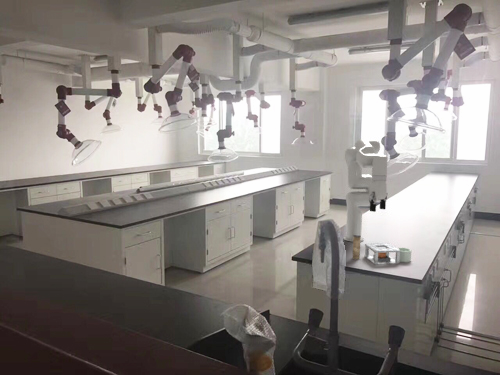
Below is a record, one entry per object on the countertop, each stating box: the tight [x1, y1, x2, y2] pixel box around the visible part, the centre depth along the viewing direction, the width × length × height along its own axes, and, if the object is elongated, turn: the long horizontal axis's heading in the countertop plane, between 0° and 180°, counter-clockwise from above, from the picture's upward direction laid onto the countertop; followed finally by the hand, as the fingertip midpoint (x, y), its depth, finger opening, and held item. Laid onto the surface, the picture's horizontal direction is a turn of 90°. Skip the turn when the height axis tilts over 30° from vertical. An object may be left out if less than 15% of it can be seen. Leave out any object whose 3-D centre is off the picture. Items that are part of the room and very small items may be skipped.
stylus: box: [352, 235, 362, 260], centre depth 220 cm, size 4×4×13 cm
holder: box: [397, 247, 413, 263], centre depth 218 cm, size 7×7×6 cm
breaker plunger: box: [378, 253, 386, 258], centre depth 218 cm, size 5×5×3 cm
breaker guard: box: [364, 242, 401, 265], centre depth 218 cm, size 14×14×7 cm
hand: (377, 210), depth 213 cm, fingers open, 9 cm apart
